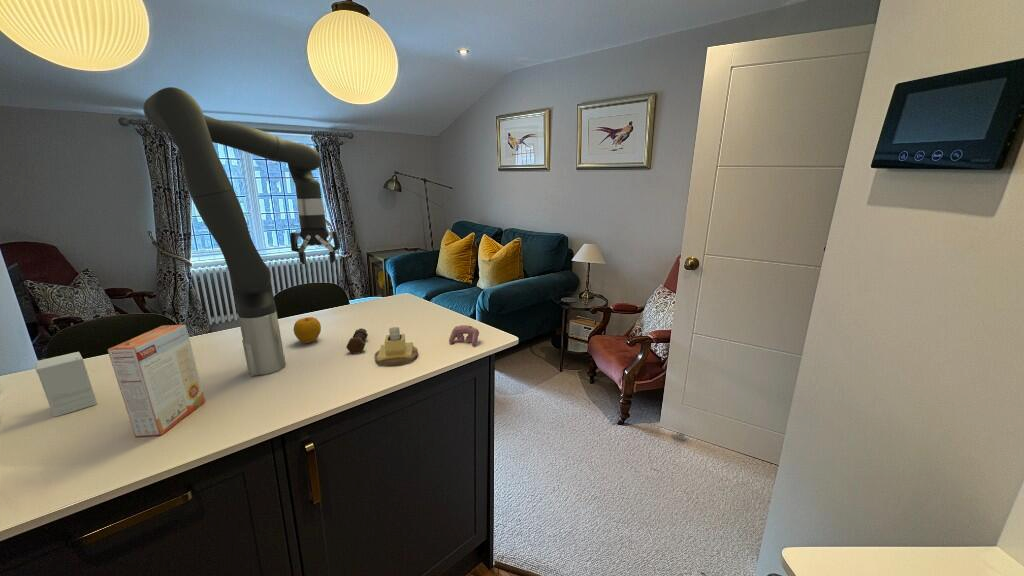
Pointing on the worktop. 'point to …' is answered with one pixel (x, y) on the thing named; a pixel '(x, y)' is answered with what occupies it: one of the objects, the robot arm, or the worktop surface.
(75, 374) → the supplement box
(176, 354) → the cracker box
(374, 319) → the worktop surface
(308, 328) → the apple
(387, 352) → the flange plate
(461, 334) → the purple arched piece
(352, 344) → the dark brown dumbbell
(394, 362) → the post base
